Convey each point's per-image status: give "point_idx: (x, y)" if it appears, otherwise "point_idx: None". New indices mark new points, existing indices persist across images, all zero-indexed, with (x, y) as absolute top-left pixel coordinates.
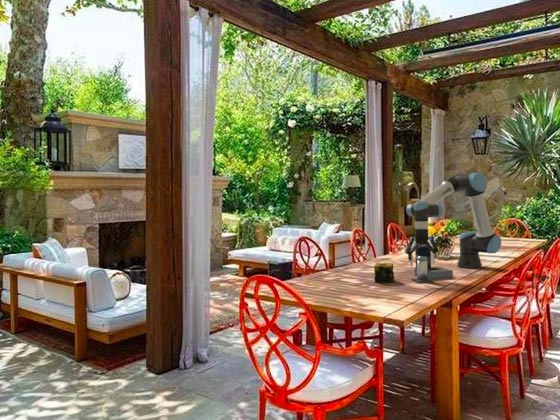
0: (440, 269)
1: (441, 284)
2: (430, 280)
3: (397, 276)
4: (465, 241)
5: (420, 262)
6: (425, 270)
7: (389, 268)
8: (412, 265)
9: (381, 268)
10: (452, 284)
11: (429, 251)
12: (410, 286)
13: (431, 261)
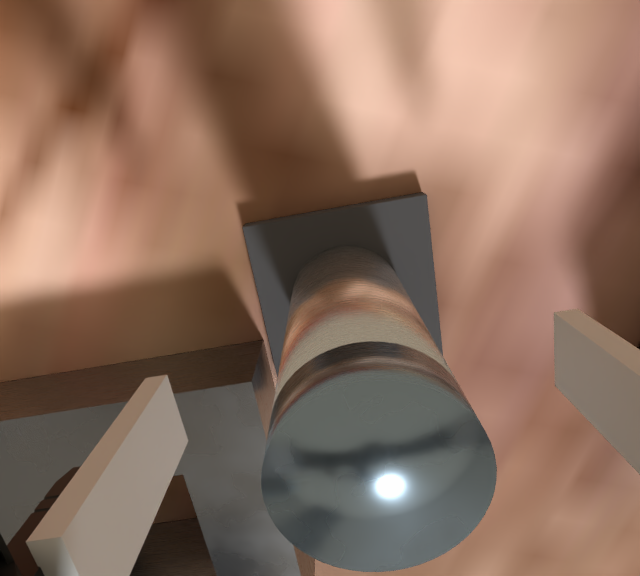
0: None
1: (203, 60)
2: (282, 220)
3: (484, 540)
4: None
5: (430, 349)
6: (333, 282)
7: None
8: (576, 314)
9: None
10: (74, 31)
11: None
12: (608, 14)
13: (169, 458)
